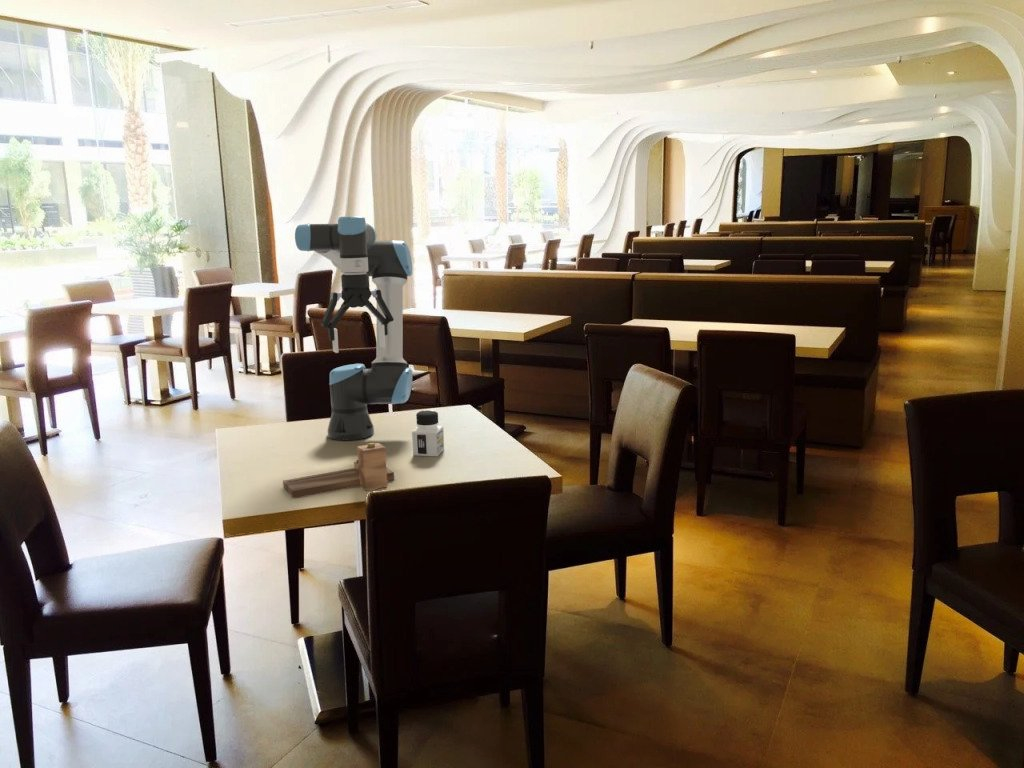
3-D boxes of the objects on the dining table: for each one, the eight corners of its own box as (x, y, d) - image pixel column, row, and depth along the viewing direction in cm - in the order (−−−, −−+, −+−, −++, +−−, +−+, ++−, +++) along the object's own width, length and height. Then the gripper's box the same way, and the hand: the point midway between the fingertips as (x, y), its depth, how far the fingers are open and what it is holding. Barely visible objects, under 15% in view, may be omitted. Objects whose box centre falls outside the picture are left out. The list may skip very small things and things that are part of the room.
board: (283, 487, 221) (282, 480, 221) (381, 469, 235) (381, 462, 234) (293, 498, 213) (292, 490, 212) (394, 479, 226) (393, 472, 226)
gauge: (348, 476, 229) (346, 435, 227) (369, 472, 232) (366, 432, 229) (366, 490, 217) (363, 447, 214) (387, 486, 220) (385, 444, 217)
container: (437, 456, 246) (435, 414, 244) (412, 455, 248) (410, 414, 245) (444, 449, 254) (442, 408, 251) (420, 448, 255) (418, 408, 253)
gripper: (313, 276, 216) (319, 356, 220) (402, 271, 228) (406, 346, 232) (306, 275, 222) (311, 352, 227) (392, 270, 234) (396, 343, 239)
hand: (359, 349), depth 230 cm, fingers open, 13 cm apart
